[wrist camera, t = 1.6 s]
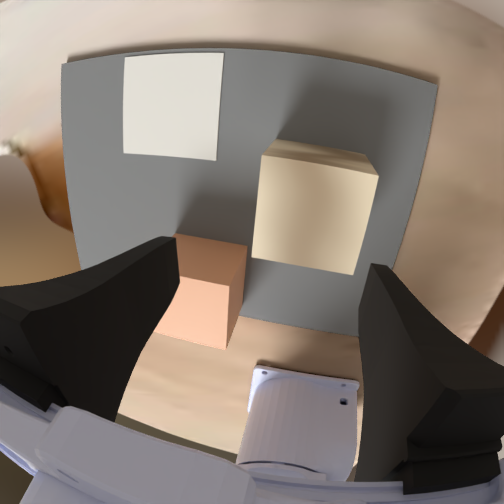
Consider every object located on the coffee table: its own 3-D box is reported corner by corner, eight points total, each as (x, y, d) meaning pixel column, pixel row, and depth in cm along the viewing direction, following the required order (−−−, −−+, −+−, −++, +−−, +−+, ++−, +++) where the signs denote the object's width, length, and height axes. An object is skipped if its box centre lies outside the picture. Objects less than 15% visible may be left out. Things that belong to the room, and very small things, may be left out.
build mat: (434, 84, 14) (438, 84, 13) (364, 333, 23) (365, 338, 22) (66, 63, 17) (60, 64, 16) (86, 274, 26) (82, 277, 25)
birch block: (365, 154, 16) (378, 175, 12) (347, 234, 19) (353, 275, 15) (275, 138, 17) (261, 155, 13) (266, 220, 19) (251, 257, 15)
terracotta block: (247, 245, 20) (229, 286, 17) (242, 305, 23) (225, 350, 19) (175, 233, 21) (144, 268, 17) (177, 292, 24) (152, 331, 20)
